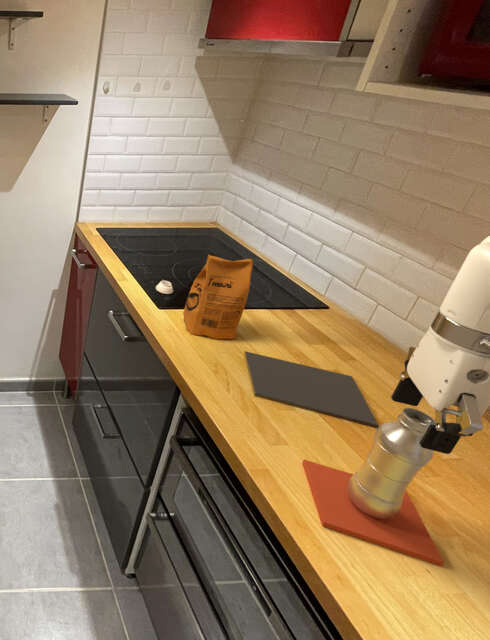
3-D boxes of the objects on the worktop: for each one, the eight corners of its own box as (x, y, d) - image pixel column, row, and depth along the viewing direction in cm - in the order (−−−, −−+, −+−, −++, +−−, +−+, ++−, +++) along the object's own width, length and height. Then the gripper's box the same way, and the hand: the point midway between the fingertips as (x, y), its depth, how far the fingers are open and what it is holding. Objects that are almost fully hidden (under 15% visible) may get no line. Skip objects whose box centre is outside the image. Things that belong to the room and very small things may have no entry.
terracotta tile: (403, 493, 78) (406, 489, 78) (441, 566, 67) (444, 562, 67) (302, 463, 84) (303, 459, 83) (321, 526, 73) (324, 522, 72)
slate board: (350, 378, 105) (352, 376, 105) (377, 428, 92) (379, 425, 91) (244, 353, 113) (245, 351, 113) (254, 395, 99) (255, 393, 99)
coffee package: (178, 315, 128) (197, 246, 119) (226, 322, 125) (249, 252, 116) (186, 335, 119) (206, 262, 110) (237, 343, 117) (262, 269, 108)
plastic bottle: (372, 528, 72) (429, 438, 63) (332, 490, 78) (379, 403, 69) (403, 520, 73) (463, 431, 64) (361, 483, 79) (411, 398, 71)
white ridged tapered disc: (160, 295, 138) (175, 294, 139) (162, 287, 137) (177, 286, 137) (152, 287, 143) (167, 286, 143) (154, 279, 141) (169, 278, 142)
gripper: (557, 380, 52) (484, 480, 59) (472, 305, 66) (422, 393, 73) (470, 363, 55) (411, 461, 62) (407, 295, 69) (365, 380, 76)
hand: (417, 424), depth 67 cm, fingers open, 9 cm apart
